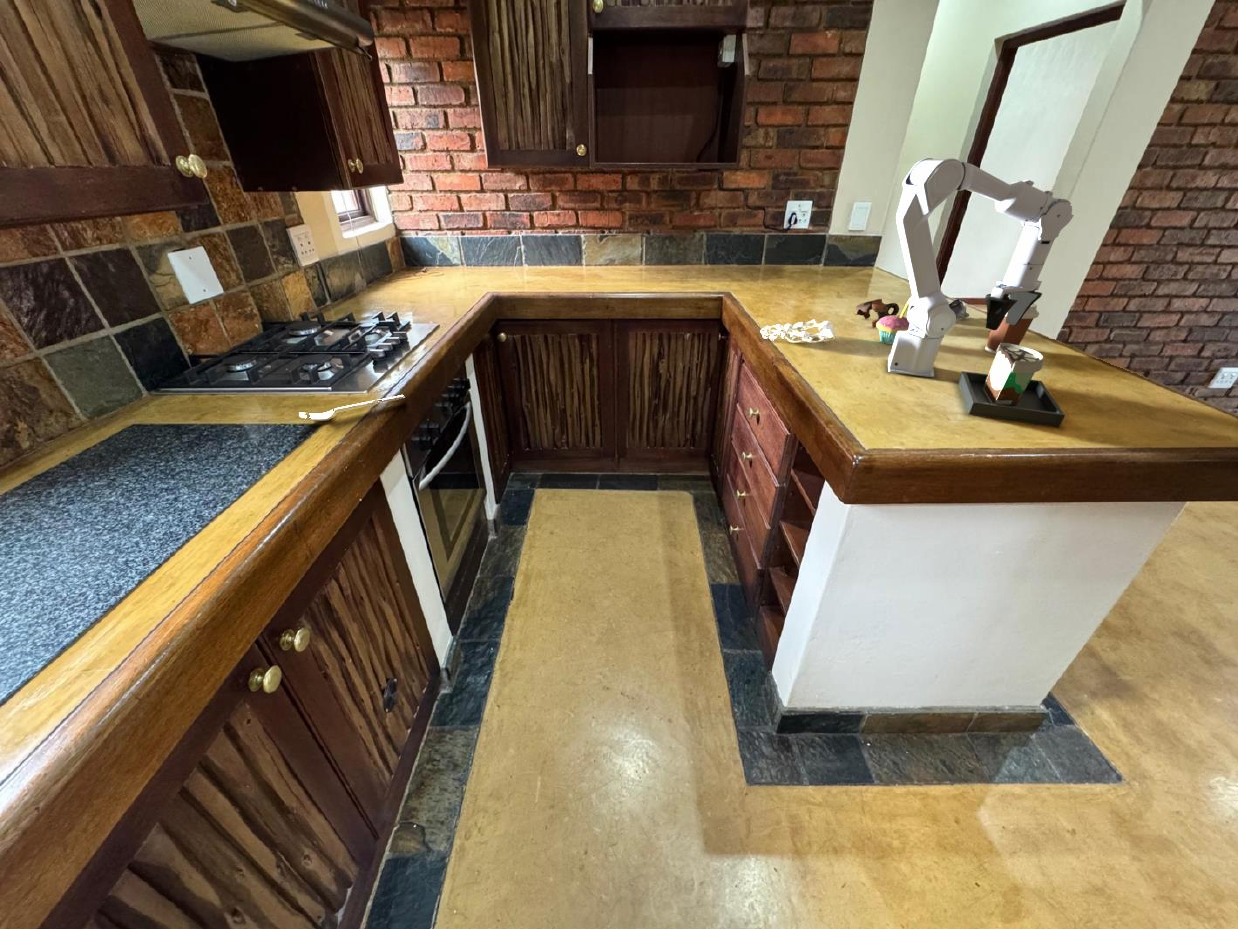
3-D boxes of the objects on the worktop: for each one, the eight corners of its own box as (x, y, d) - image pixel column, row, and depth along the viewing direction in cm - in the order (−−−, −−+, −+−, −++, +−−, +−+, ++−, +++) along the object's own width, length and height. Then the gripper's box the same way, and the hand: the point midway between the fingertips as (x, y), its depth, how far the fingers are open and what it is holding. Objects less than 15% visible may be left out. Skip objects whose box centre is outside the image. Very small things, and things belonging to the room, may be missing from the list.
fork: (406, 401, 106) (404, 393, 105) (302, 425, 97) (299, 417, 96) (403, 396, 108) (401, 388, 107) (301, 419, 99) (298, 411, 98)
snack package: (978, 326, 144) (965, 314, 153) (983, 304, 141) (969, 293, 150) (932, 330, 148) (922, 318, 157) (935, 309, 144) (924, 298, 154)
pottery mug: (863, 330, 143) (858, 303, 142) (853, 335, 152) (848, 309, 152) (906, 320, 141) (901, 291, 140) (893, 325, 150) (888, 299, 150)
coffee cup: (1004, 344, 130) (1024, 298, 123) (1030, 356, 122) (1052, 307, 116) (971, 345, 130) (989, 299, 123) (994, 357, 122) (1014, 308, 116)
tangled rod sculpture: (758, 348, 134) (760, 334, 131) (761, 328, 145) (763, 315, 142) (834, 352, 129) (837, 337, 126) (831, 331, 140) (834, 317, 137)
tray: (968, 414, 96) (973, 402, 95) (957, 381, 110) (961, 371, 108) (1059, 427, 91) (1065, 415, 90) (1036, 391, 104) (1041, 380, 103)
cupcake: (908, 340, 134) (922, 295, 128) (904, 349, 128) (919, 302, 122) (874, 335, 138) (886, 291, 132) (869, 343, 132) (881, 298, 126)
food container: (1031, 414, 94) (1056, 366, 89) (994, 410, 96) (1016, 362, 91) (1014, 390, 104) (1035, 344, 99) (981, 386, 106) (1000, 341, 100)
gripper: (1026, 256, 108) (1001, 317, 115) (987, 262, 103) (963, 326, 110) (1062, 261, 103) (1034, 325, 110) (1023, 268, 97) (996, 335, 105)
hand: (1001, 326), depth 110 cm, fingers open, 7 cm apart
